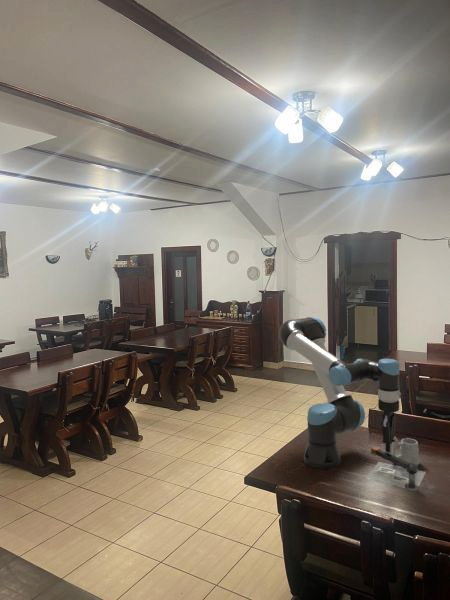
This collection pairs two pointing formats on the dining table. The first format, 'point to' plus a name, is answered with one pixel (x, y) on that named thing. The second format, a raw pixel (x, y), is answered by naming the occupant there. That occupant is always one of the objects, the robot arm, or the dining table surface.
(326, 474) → the dining table surface
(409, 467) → the grey lever orange grip
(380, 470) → the label left
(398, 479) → the label right
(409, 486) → the grey metal knob
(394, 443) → the mug
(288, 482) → the dining table surface
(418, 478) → the plate
